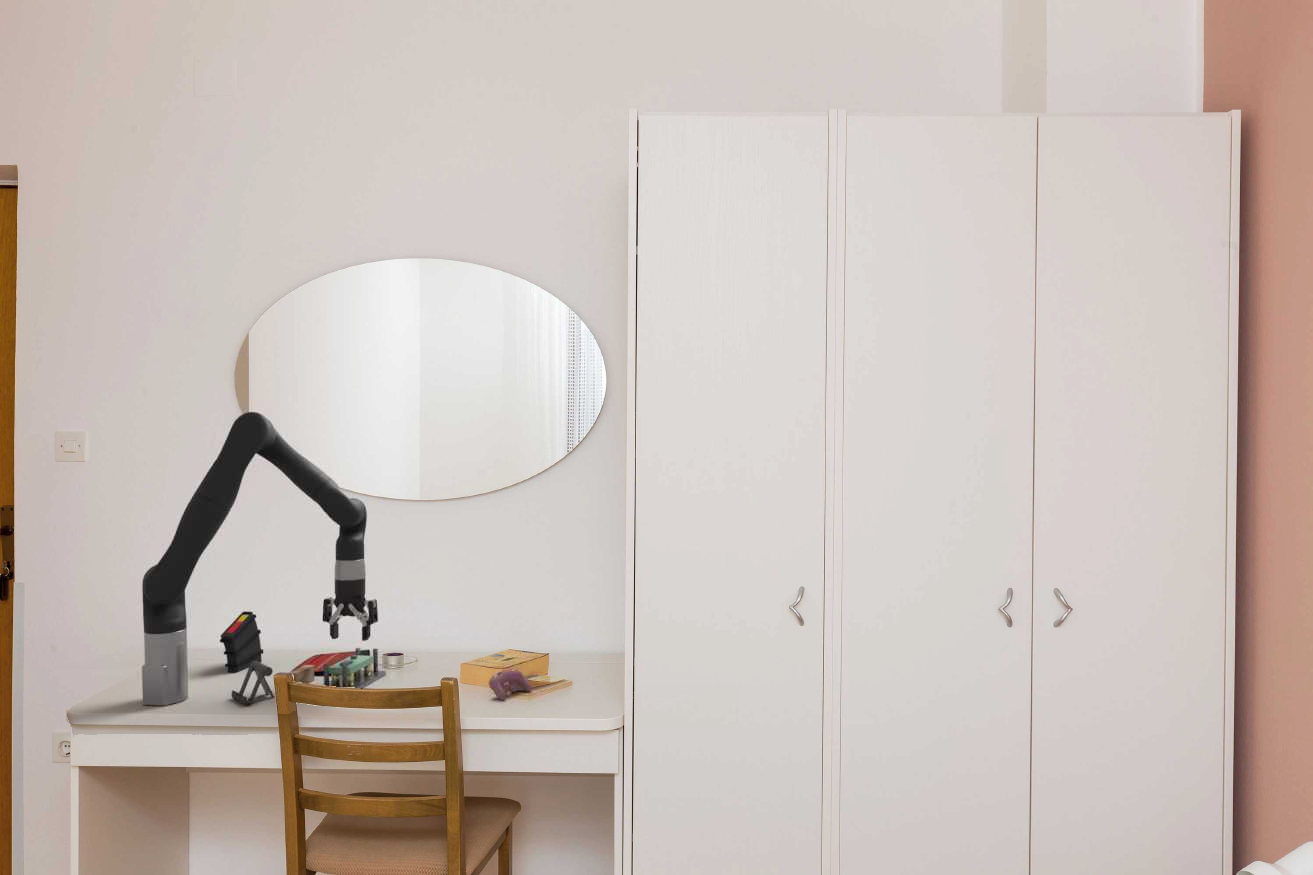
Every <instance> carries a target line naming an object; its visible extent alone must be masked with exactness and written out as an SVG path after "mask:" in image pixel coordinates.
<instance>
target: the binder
mask: <svg viewBox="0 0 1313 875" xmlns="http://www.w3.org/2000/svg"><path fill="white" fill-rule="evenodd" d="M351 655H356V650H353V651H342V652H341V651H339V652H330V653H321V654H315V655H312V656H311V657H309V658H307V659H305V660H304V661H303V662H300V663H299V664H298V665H297V666H295V667H294V668H293V669H292V670H291V671H294V670H296V669H298V668H300V667H302V666H304V665H314V677H324V664H325V663H329V667H330V666H332V665H334V664H336V663H338V662H340V661H342V660H344V659H346V658H348V657H350V656H351ZM360 655H361V656H371V650H370V649H360ZM329 677H331V674H329Z"/></svg>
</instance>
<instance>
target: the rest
mask: <svg viewBox="0 0 1313 875" xmlns="http://www.w3.org/2000/svg"><path fill="white" fill-rule="evenodd" d="M288 673H291V674H293V675H294V681H295V682H302V683H308V684H310V683H312V682H314V681H315V676H314V665H304V666H302V667H300V668H298V669H296V670H294V671H292V670H291V671H289V672H288Z"/></svg>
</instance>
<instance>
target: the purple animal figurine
mask: <svg viewBox="0 0 1313 875" xmlns="http://www.w3.org/2000/svg"><path fill="white" fill-rule="evenodd" d="M506 683H508V684H507V685H506ZM488 686H489V689H491V690H492V691H493V694H494V695H495V696H496V698H498V699H499V700H501V701H505V700H506V695H507V694H508V693H516V692H517V691H518V688H519V687H520V688H521V690H523V691H525V692H526V693H530V692H531V690H532V686H531V683H530V682H529V680H528V679H527V678H526V677H525V675H524V674H523V673H522V672H521V671H519V669H505V670H502V671H499V672H497V673H496V674H494V675H493V676H491V678H489V681H488Z"/></svg>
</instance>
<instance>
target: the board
mask: <svg viewBox="0 0 1313 875" xmlns="http://www.w3.org/2000/svg"><path fill="white" fill-rule="evenodd" d="M373 662H374V656H373V655H370V656H359V655H351V656H350V657H348V658H346V659H344V660H342V661H340V662H338V663H336V664H334V665H332V666H330V667H329V674H340V675H342V665H343V664H347V675H351V674H352V673H354V672H356V671H358V670H360V669H361V670H363V669H364V667H366V666H367V665H369V664H371V663H372V664H373Z"/></svg>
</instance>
